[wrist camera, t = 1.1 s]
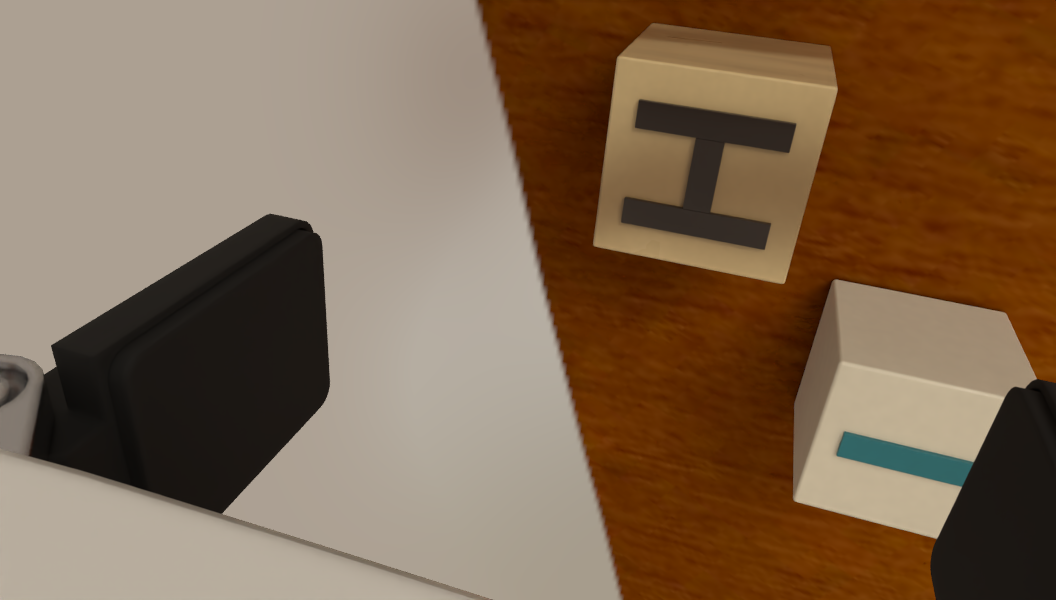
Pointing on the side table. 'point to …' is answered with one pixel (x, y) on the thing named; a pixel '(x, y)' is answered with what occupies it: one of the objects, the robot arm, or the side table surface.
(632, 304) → the side table surface
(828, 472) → the letter i
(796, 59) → the letter h
